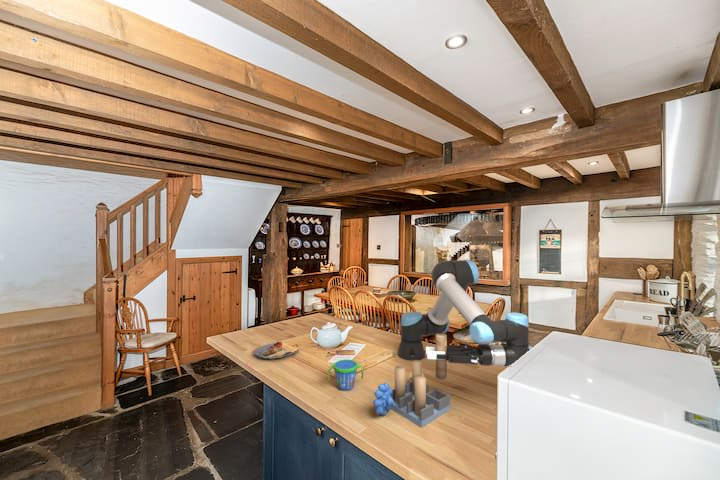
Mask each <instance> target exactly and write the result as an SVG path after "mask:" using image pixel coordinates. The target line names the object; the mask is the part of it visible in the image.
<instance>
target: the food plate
mask: <svg viewBox="0 0 720 480" xmlns="http://www.w3.org/2000/svg"><path fill="white" fill-rule="evenodd" d="M282 342H283V341H276V342H273V343H268V344H264V345H262V346H260V347H256V348H255V349H254V350H253V354H254V355H255V356H256V357H259V358H263V359H270V360H271V359H272V360H274V359H278V358H284V357H288V356H291V355H292V354H294V353H296V352H291V351H290V350H287V349H284V348H283V347H282ZM291 346H293V347H299V345H298V344H296V345H291Z"/></svg>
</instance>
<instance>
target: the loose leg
mask: <svg viewBox="0 0 720 480" xmlns="http://www.w3.org/2000/svg"><path fill="white" fill-rule="evenodd" d="M447 336H448V335H447V334H446V333H444V334H442V333H438V334H436V335H435V347H436V351H438V352H445V354H446V351H447V345H448V344H447V343H448V341H447V338H448V337H447ZM447 363H448V361H447V360H446V359H445V360H439V359H435V377H436V378H437V379H439V380H446V379H447V378H448V377H447V375H448V373H447V371H448V368H447V367H448V366H447V365H448V364H447Z"/></svg>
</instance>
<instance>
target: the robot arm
mask: <svg viewBox="0 0 720 480" xmlns="http://www.w3.org/2000/svg"><path fill="white" fill-rule="evenodd" d="M479 279H480V273H479V268H478V266H477V264H476V263H475V261H473V260H470V259H469V260H468V259H460V260H459V259H457V260H454V259H453V260H441V261H439V262H437V263H436V264H435V265H434V267H433V268H432V270H431V281H432V284H433V285H434V287H435V288H436V289H437V290H438V291H439V292H440V293H439V296H438V298H437V299H436V301H435V303H434V305H433V306H432V307H430V308H429V309H428V310H427V313H424V314H423V313H422V312H420V311H408V312H405V313H403V314H402V315H401V317H400V318H401V319H400V343H399V346H398V349H397V355H398V357H399V358H401V359H403V360H406V361H407V360H408V361H413V360H420V361H422V360H423V359H424V358H426V357H427V359H426V360H436V359H439V360H445V359H446V360H447V362H448V363H450V364H466V365H468V364H469V365H474V366H478V364H479V365H480V366H484V367H486V366H487V367H488V366H493V367H497V368H500V367H510V366H509V365H511V364H512V363H514V362H515V361H516V360H518V359H519V358H520V357H521V356H522V355H524V354H525V353H526V352H527V351H529V350H530V349H531V348H532V347H533V346H532V345H529V328H530V326H529V325H530V324H529V317H528V316H527V315H526V314H524V313H520V312H515V311H514V312H507V313H506V314H505V319H500V320H499V319H498V320H492V319H491V318H490V317H489V316H488V315H487V314H486V312H484V311H483V309H482V308H481V307H480V306H479V304H478V303H476V302H475V300H474V299H473V298H472V297H471V296H470V295H469V294H468V293H467V292H466V291H467V289H468V288H469V286H470V285H475V284H477V283H478V282H479ZM453 307H454V308H455V309H456V311H457V312H458V313H459V315H461V317H463V319H464V320H465V321H466V323H467V324H468V325H469V336H470V338H471V340H472V341H473V342H474V343H475V344H477V347H476V348H473V347H471V346H469V345H468V344H463V345H462V344H461V345H460V344H456V345H455V344H447V351H446V354H445V352H438V351H436V346H425V348H424V344H423V337H425V336H434V335H435V336H436V334H438V333H442V334H446V333H447V332H448V331H449V328H450V319H449V317H448V316H449V314H450V312H451V311H452V309H453ZM502 342H505V344H496V343H502Z"/></svg>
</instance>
